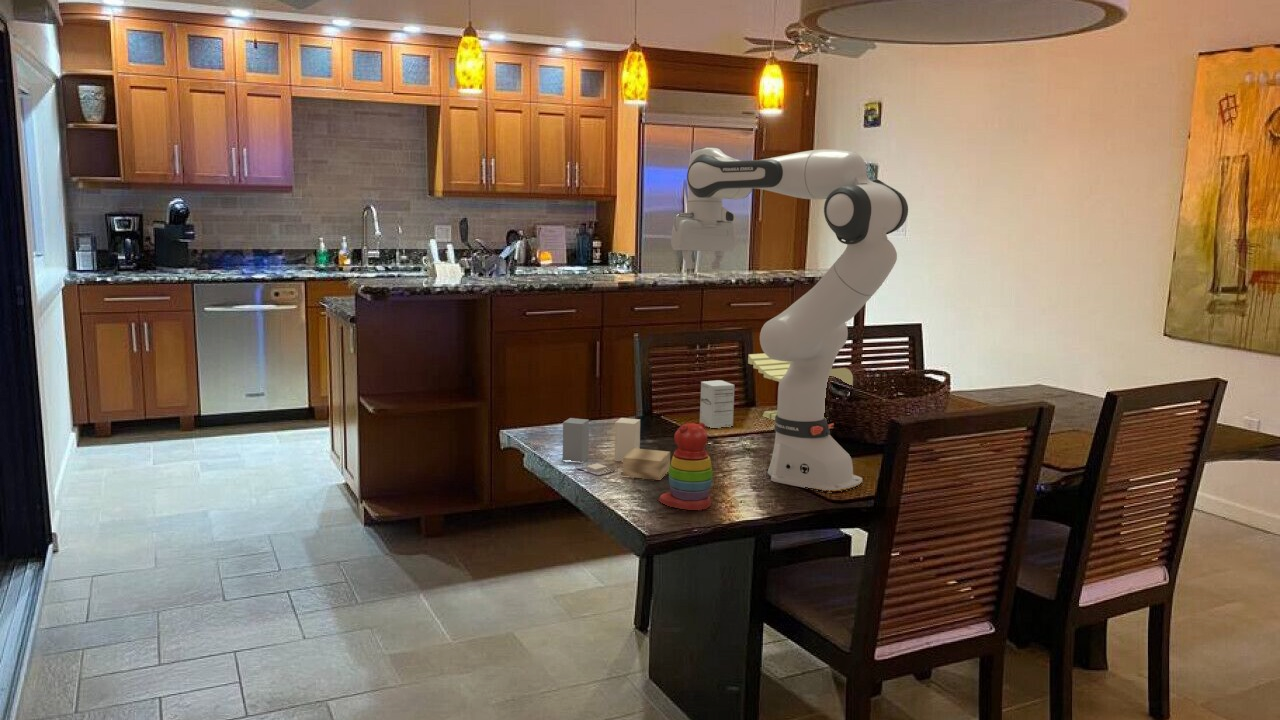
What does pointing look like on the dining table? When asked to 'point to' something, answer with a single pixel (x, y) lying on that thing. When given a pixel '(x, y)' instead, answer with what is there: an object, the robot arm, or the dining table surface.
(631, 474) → the oak pedestal
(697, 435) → the stacking bear
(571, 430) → the grey block
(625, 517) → the dining table surface
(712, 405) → the supplement box
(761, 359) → the slatted curved stool
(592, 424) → the dining table surface
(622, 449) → the cream block
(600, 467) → the card
